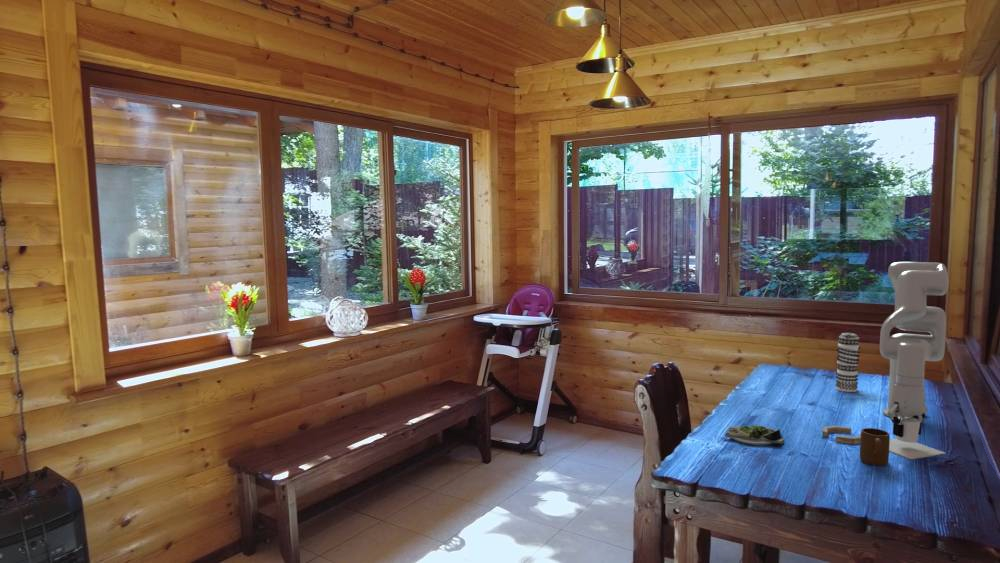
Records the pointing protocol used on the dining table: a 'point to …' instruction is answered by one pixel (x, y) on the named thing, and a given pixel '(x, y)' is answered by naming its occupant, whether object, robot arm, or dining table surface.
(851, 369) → the decorative candle
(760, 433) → the salad plate
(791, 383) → the dining table surface
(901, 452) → the rubber mat
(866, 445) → the mug
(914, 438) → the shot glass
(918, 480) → the dining table surface
